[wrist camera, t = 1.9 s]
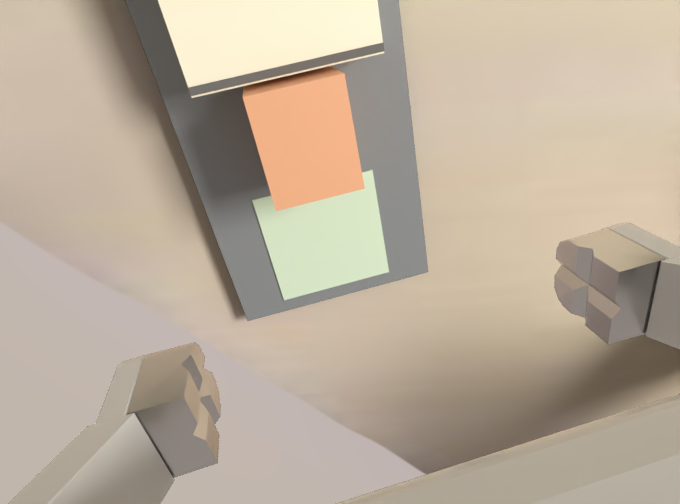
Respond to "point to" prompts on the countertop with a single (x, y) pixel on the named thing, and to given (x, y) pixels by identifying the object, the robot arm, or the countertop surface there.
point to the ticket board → (242, 153)
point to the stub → (305, 136)
